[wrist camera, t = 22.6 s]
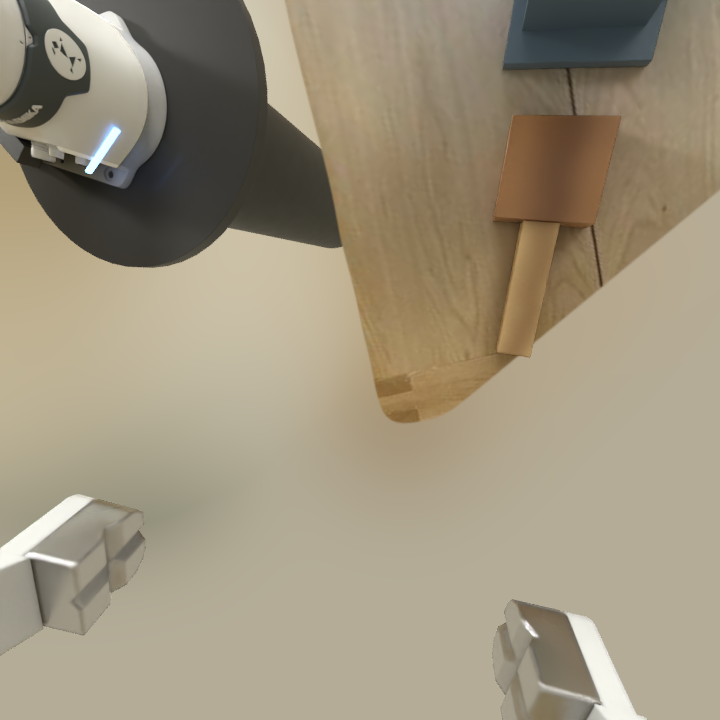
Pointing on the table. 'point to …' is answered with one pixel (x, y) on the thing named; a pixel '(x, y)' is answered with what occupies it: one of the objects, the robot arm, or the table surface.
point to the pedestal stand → (582, 33)
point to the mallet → (546, 205)
